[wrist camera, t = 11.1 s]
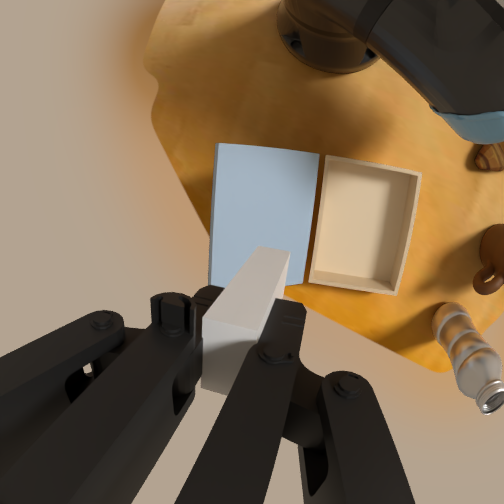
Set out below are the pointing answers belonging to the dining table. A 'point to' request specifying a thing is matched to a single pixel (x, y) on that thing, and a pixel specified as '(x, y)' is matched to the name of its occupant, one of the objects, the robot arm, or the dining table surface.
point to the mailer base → (364, 225)
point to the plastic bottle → (470, 357)
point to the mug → (491, 261)
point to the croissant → (491, 157)
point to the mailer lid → (260, 207)
